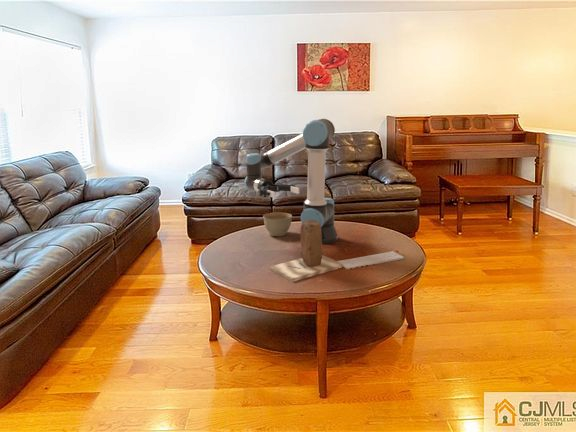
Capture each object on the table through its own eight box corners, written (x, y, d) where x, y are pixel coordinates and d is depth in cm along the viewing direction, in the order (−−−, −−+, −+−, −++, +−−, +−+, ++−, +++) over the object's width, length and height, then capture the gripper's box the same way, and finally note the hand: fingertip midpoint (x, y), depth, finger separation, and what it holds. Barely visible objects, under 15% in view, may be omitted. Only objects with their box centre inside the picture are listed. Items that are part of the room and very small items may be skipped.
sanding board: (319, 256, 226) (319, 253, 226) (343, 267, 211) (343, 264, 211) (270, 269, 211) (270, 266, 211) (292, 281, 197) (292, 278, 196)
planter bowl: (286, 239, 254) (286, 220, 251) (259, 237, 259) (258, 218, 257) (296, 231, 268) (295, 213, 266) (270, 229, 274) (269, 211, 271)
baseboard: (334, 262, 220) (346, 270, 209) (334, 256, 219) (346, 264, 208) (389, 252, 230) (404, 260, 220) (389, 246, 230) (404, 254, 219)
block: (323, 265, 210) (322, 223, 204) (308, 268, 207) (307, 225, 202) (314, 258, 220) (313, 217, 214) (299, 260, 217) (298, 219, 212)
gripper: (284, 190, 243) (308, 196, 226) (242, 197, 230) (264, 204, 213) (284, 176, 241) (308, 181, 224) (241, 182, 228) (263, 188, 211)
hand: (286, 193), depth 219 cm, fingers open, 13 cm apart
